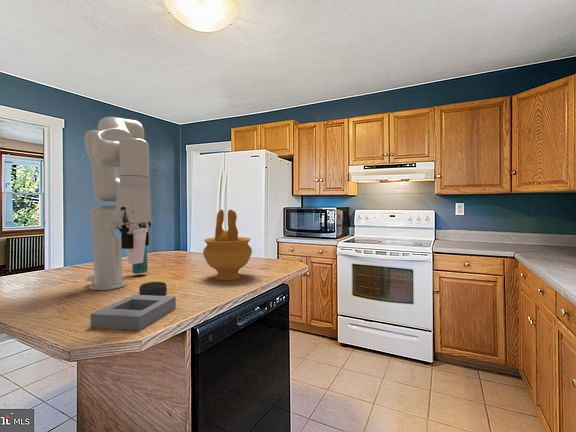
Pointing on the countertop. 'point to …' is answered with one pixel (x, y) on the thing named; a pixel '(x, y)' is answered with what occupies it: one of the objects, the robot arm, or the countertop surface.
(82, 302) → the countertop surface
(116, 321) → the socket block
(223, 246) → the decorative bowl
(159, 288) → the smart speaker
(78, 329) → the countertop surface
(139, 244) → the smoothie
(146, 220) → the robot arm
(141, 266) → the beverage bottle
